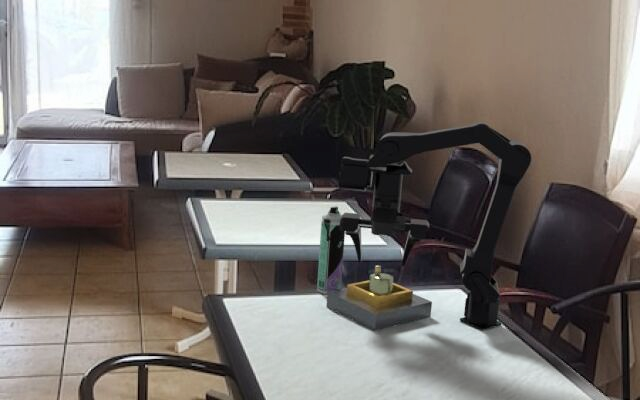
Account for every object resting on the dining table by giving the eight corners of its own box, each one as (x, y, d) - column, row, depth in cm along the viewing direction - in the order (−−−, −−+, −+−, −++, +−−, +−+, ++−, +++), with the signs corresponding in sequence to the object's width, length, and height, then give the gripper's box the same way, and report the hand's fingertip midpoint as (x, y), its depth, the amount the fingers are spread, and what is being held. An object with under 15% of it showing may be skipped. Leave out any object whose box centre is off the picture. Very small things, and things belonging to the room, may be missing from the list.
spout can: (395, 313, 175) (398, 269, 173) (378, 317, 172) (381, 272, 170) (379, 306, 179) (383, 263, 177) (362, 310, 176) (366, 266, 174)
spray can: (338, 296, 184) (344, 210, 180) (314, 293, 185) (320, 208, 181) (342, 288, 190) (348, 205, 185) (319, 285, 191) (325, 203, 186)
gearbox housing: (430, 317, 175) (432, 292, 173) (375, 330, 165) (377, 305, 164) (375, 292, 188) (376, 269, 187) (320, 303, 179) (322, 279, 177)
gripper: (339, 197, 163) (333, 271, 167) (432, 205, 161) (424, 280, 165) (344, 186, 174) (339, 256, 178) (431, 194, 172) (425, 264, 176)
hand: (381, 264), depth 174 cm, fingers open, 9 cm apart
